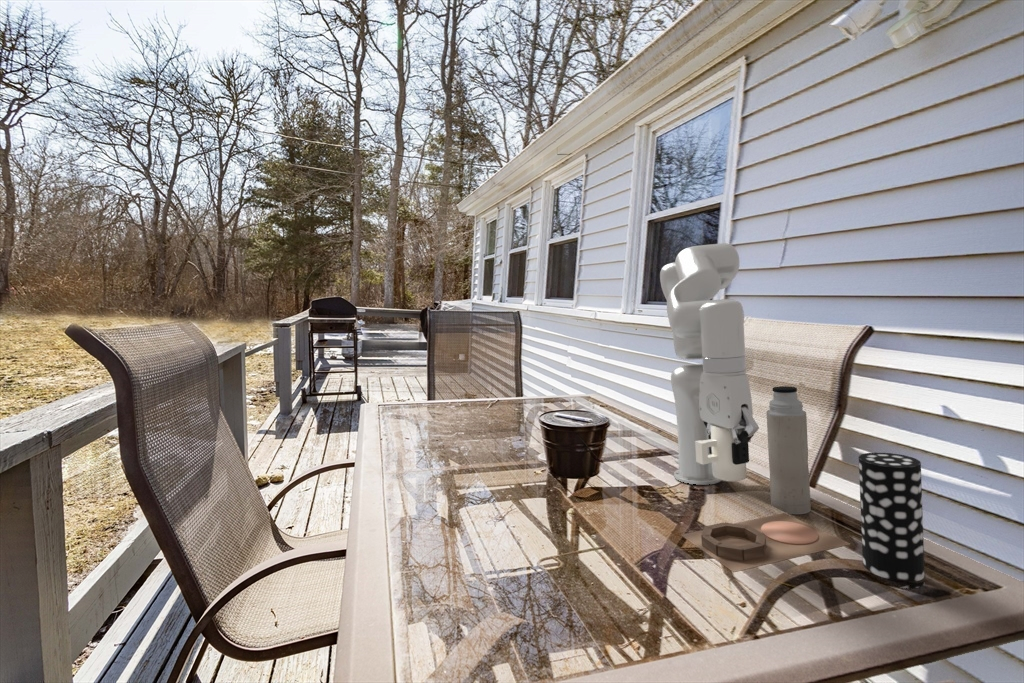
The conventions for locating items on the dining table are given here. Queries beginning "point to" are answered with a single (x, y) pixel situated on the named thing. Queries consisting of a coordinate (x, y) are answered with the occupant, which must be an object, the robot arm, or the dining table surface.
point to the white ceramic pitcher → (720, 454)
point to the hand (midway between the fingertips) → (728, 457)
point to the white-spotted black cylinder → (892, 517)
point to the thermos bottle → (788, 452)
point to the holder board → (761, 541)
